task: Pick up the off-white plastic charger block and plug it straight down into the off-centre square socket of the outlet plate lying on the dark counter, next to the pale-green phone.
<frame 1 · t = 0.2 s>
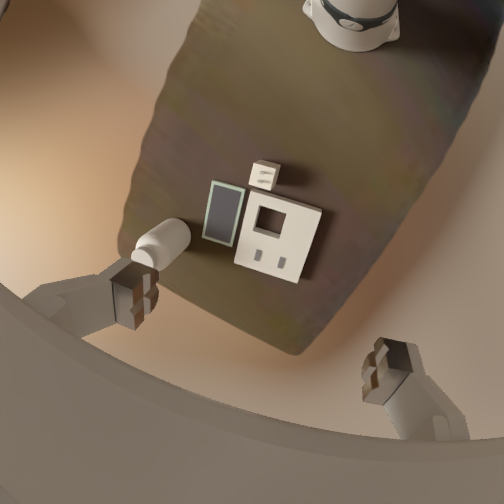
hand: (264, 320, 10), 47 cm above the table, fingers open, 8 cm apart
phone: (224, 212, 60), on the table
pill bottle: (177, 233, 65), on the table
outlet plate: (277, 234, 59), on the table
charger: (268, 171, 54), on the table
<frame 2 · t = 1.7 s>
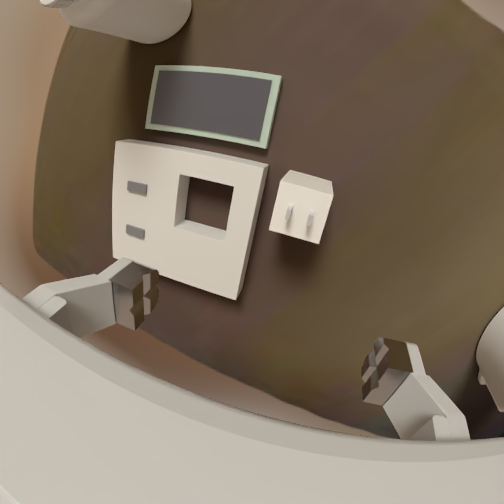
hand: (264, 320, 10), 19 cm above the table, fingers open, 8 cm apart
phone: (211, 102, 25), on the table
pill bottle: (161, 15, 22), on the table
outlet plate: (183, 212, 30), on the table
charger: (305, 195, 27), on the table
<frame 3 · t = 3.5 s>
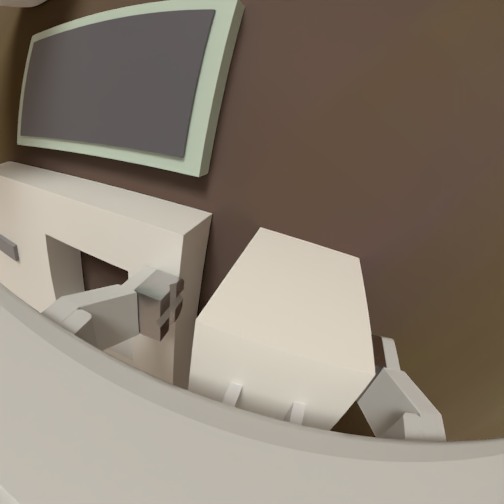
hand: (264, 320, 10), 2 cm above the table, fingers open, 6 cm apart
phone: (106, 81, 11), on the table
outlet plate: (81, 287, 16), on the table
charger: (295, 285, 12), on the table
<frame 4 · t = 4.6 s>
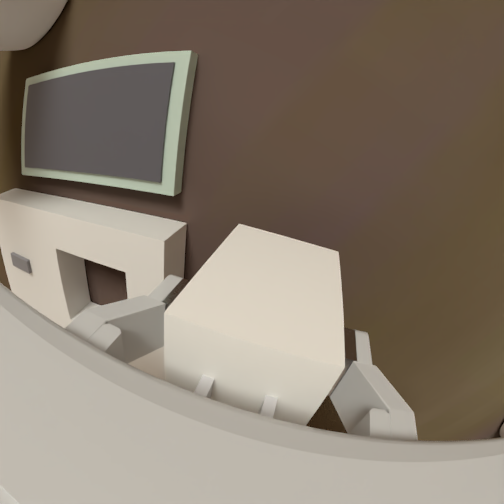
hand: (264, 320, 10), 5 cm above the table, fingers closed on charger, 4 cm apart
phone: (95, 120, 14), on the table
pill bottle: (43, 6, 10), on the table
outlet plate: (86, 292, 18), on the table
charger: (276, 281, 12), point 2 cm above the table, touching gripper
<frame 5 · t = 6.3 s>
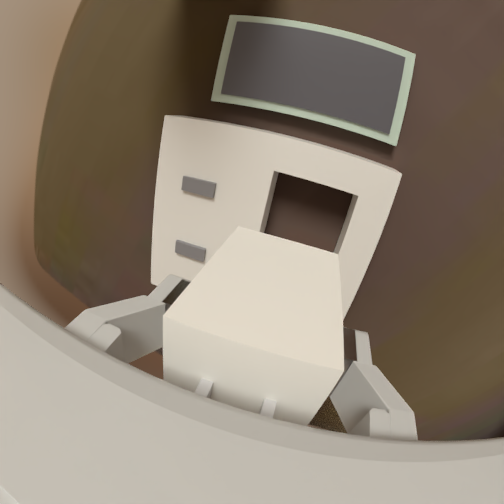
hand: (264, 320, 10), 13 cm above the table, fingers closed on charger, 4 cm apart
phone: (314, 73, 17), on the table
outlet plate: (262, 225, 22), on the table
charger: (276, 283, 12), point 10 cm above the table, touching gripper
when the fingers open (4 cm above the table, at t = 8.1 s): charger drops 1 cm, resting in outlet plate.
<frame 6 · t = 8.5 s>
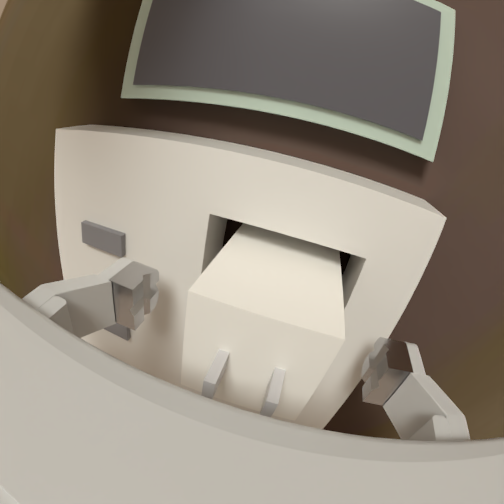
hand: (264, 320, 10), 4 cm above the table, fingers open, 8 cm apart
phone: (286, 38, 9), on the table
outlet plate: (210, 287, 14), on the table
charger: (281, 271, 13), resting in outlet plate
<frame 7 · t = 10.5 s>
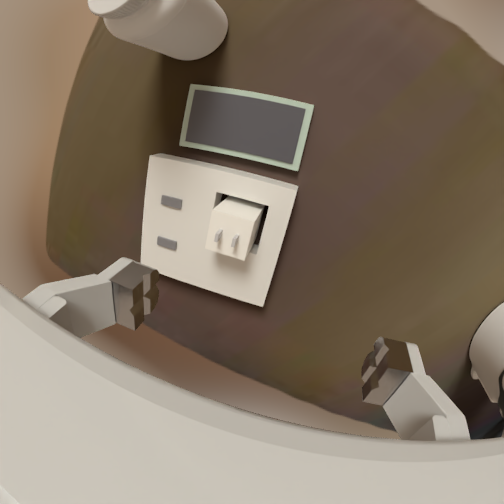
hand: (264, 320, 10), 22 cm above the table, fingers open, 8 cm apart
phone: (245, 124, 28), on the table
pill bottle: (195, 32, 24), on the table
outlet plate: (213, 225, 33), on the table
charger: (243, 216, 32), resting in outlet plate
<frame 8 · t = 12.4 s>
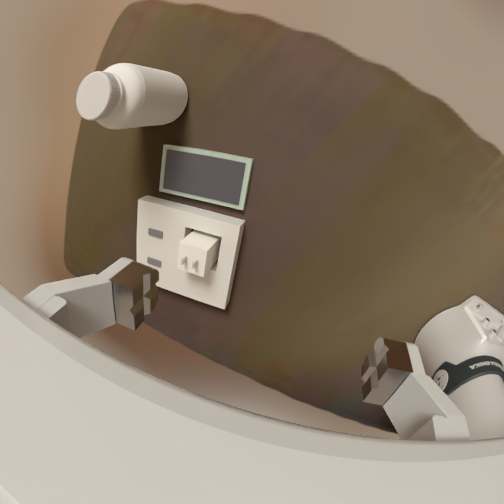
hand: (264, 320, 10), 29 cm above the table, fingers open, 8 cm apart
phone: (205, 174, 39), on the table
pill bottle: (165, 99, 35), on the table
outlet plate: (187, 249, 44), on the table
charger: (207, 242, 43), resting in outlet plate
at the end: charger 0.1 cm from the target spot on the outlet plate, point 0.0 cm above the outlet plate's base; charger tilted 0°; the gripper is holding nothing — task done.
